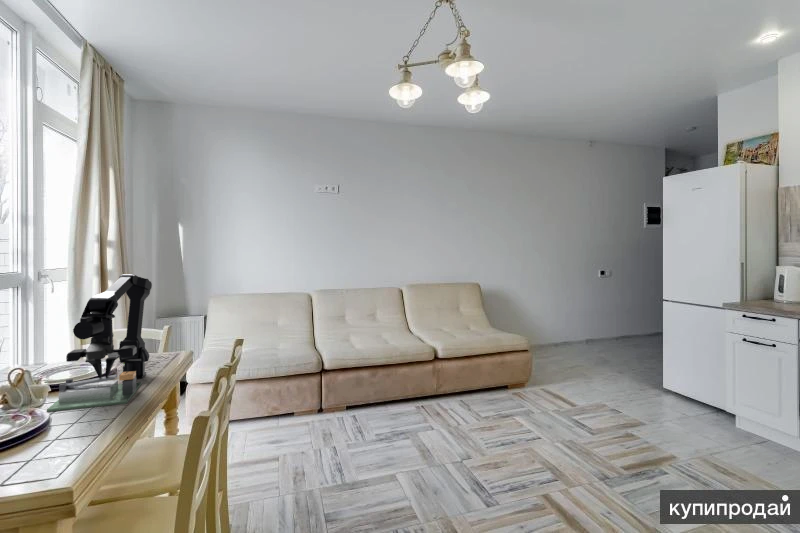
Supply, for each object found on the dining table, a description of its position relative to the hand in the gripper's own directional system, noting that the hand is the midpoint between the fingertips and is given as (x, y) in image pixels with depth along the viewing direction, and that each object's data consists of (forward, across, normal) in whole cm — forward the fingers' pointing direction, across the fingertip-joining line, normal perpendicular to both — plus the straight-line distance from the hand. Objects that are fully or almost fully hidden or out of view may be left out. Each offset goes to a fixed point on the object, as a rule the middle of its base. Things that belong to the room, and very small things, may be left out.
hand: (103, 377), depth 136 cm
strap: (+1, -4, 0) cm, 4 cm away
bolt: (+1, +7, 0) cm, 7 cm away
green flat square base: (+6, -2, 0) cm, 7 cm away
